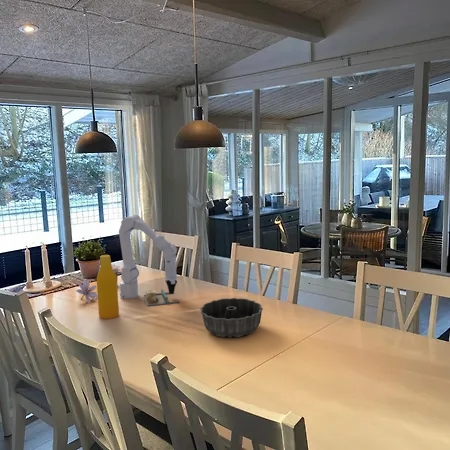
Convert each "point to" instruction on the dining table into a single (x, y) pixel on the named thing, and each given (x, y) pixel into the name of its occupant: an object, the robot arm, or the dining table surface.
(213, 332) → the bundt pan
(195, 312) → the dining table surface
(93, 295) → the water lily
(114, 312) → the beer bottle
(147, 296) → the maple cube
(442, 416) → the dining table surface
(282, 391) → the dining table surface
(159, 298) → the clear flat box
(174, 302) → the lane rails
